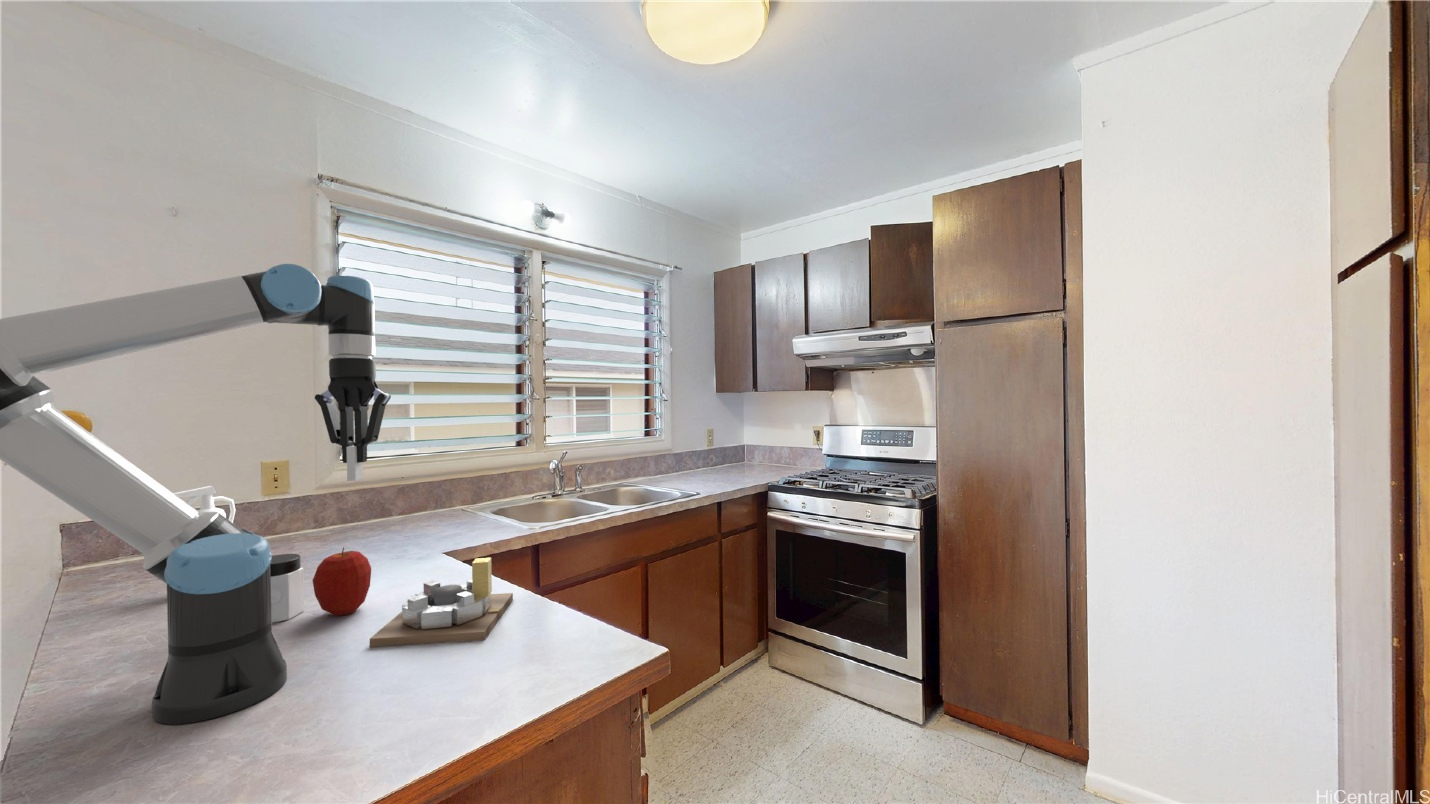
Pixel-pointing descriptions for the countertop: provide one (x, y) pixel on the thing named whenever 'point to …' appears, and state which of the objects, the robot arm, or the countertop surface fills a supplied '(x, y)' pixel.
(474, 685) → the countertop surface
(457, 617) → the white blocky ring
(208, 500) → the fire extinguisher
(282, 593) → the jar
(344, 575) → the apple
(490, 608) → the board
